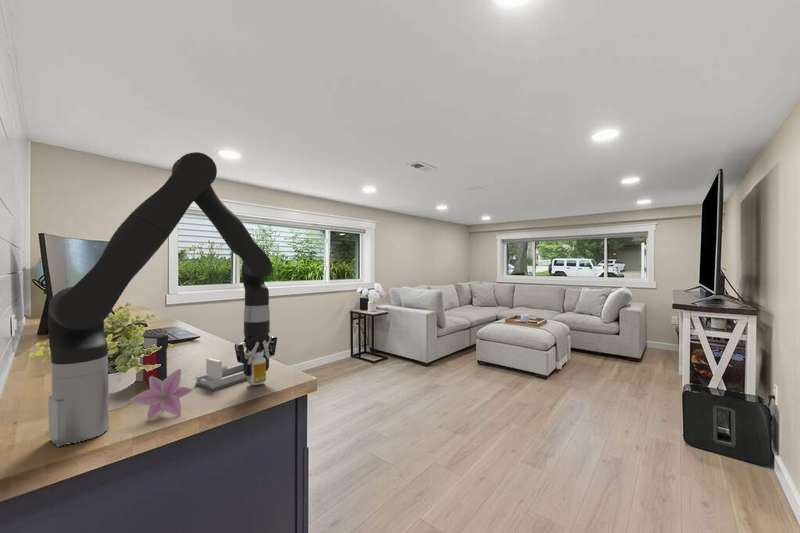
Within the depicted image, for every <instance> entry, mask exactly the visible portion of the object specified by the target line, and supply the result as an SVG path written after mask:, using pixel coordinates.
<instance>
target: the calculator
mask: <svg viewBox="0 0 800 533" xmlns="http://www.w3.org/2000/svg"><path fill="white" fill-rule="evenodd" d="M153 344H155V345H157V346H158V347H160V346H162V348H161V349H160V350H158V351H156V352H154V353H152V354H151V355H149V356H144V357H142V358H140V364H142V365H155V364H161V366H160V367H158V368H155V369H153V370H150V371H148V372H147V371H146V370H145V369H141V370H140V371H139V372H137V373H136V382H137V383H143V382H146V383H145V384H149V377H150V376H152V377H155V378H158V379H160V380H161V381H164V380H165V379H166V378H167V377H168V367H167V365H168V358H167V355H168V354H167V353H168V348H169V335H168V334H157V333H144V343H143V347H144V348H148V347H151V346H152V345H153Z"/></svg>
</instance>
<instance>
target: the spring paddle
mask: <svg viewBox="0 0 800 533" xmlns="http://www.w3.org/2000/svg"><path fill="white" fill-rule="evenodd" d="M205 360H206V366H205V367H206V368H205V369H206V370H205V371H206V373H205V374H207V380H209V381H213V380H217V379H220V378H222V373H226V372H227V368H228V367H227V365H226V364H223V361H222V360H219V359H215V358H212V357H209V358H206V359H205Z"/></svg>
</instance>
